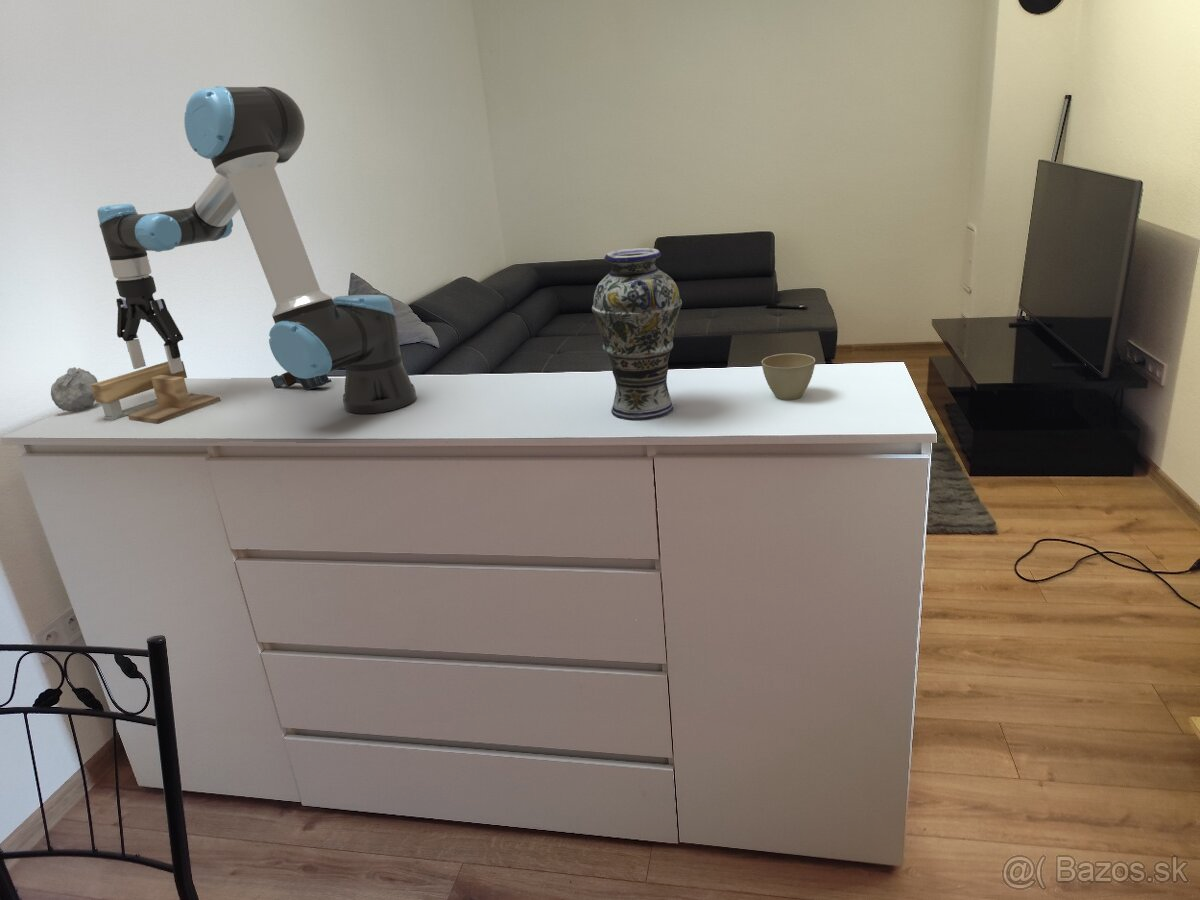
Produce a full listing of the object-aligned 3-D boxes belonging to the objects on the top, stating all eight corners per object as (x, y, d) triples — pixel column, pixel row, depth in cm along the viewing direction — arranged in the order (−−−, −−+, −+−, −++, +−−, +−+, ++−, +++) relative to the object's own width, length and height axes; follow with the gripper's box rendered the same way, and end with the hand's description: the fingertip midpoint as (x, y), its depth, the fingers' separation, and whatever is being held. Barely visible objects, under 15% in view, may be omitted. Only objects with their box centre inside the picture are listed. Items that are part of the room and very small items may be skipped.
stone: (86, 402, 202) (73, 361, 198) (110, 402, 201) (98, 361, 197) (55, 415, 193) (41, 373, 190) (81, 415, 192) (67, 372, 188)
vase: (661, 390, 175) (653, 241, 164) (702, 413, 160) (696, 250, 149) (586, 406, 169) (573, 252, 159) (621, 430, 154) (609, 263, 144)
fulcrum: (221, 400, 194) (213, 369, 191) (158, 423, 181) (148, 389, 179) (192, 397, 199) (184, 366, 196) (129, 419, 186) (119, 386, 183)
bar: (187, 377, 200) (182, 361, 199) (106, 403, 184) (101, 385, 183) (176, 376, 202) (171, 360, 201) (95, 402, 186) (90, 384, 185)
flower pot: (769, 386, 172) (769, 352, 169) (820, 389, 167) (820, 354, 165) (755, 402, 163) (755, 366, 161) (808, 405, 159) (808, 368, 156)
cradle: (187, 394, 202) (183, 378, 200) (112, 420, 186) (107, 402, 185) (180, 393, 203) (176, 377, 202) (104, 419, 188) (99, 401, 186)
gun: (256, 328, 199) (302, 311, 193) (285, 395, 203) (332, 381, 197) (248, 330, 197) (294, 314, 190) (278, 398, 201) (324, 384, 194)
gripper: (185, 275, 186) (208, 369, 194) (115, 272, 197) (139, 361, 205) (154, 281, 180) (179, 378, 188) (83, 278, 191) (109, 370, 199)
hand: (158, 369), depth 196 cm, fingers open, 13 cm apart
